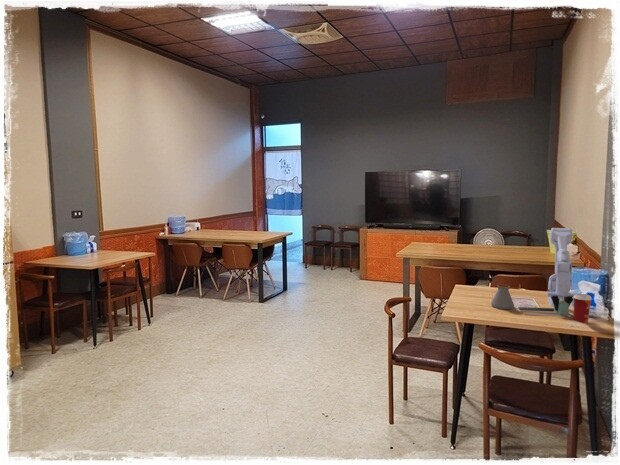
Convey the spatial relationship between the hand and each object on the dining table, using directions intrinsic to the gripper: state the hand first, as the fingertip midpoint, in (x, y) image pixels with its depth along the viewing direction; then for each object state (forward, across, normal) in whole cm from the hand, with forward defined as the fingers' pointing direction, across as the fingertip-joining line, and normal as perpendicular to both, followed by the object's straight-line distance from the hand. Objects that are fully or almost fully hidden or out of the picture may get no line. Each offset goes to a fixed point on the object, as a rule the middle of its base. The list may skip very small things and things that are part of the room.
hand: (560, 310), depth 220 cm
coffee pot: (+3, -26, +14) cm, 30 cm away
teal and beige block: (+1, 0, 0) cm, 1 cm away
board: (+3, -8, 0) cm, 8 cm away
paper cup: (+3, +4, -11) cm, 12 cm away
